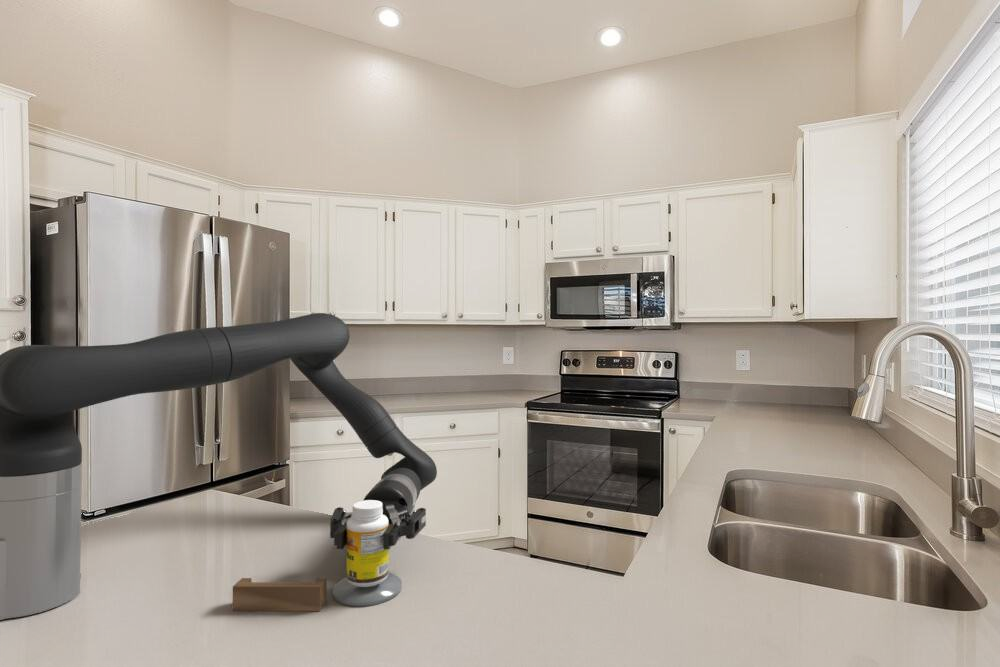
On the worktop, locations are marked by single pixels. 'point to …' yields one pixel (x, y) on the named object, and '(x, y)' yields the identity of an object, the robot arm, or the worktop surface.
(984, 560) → the worktop surface
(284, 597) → the cradle
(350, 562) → the supplement bottle
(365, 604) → the smooth stone
